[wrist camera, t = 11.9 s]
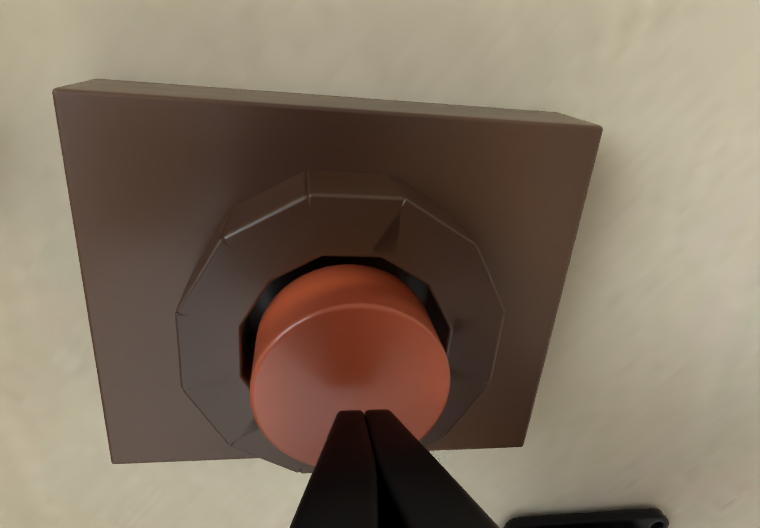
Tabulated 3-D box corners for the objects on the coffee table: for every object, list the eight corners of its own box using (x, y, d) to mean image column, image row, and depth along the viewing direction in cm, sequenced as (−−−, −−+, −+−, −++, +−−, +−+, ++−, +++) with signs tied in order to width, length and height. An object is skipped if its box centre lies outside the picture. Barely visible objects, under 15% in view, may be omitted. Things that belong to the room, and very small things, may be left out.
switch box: (558, 112, 13) (657, 142, 10) (497, 398, 17) (552, 499, 13) (92, 78, 11) (-3, 99, 8) (135, 408, 15) (83, 528, 11)
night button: (439, 264, 10) (465, 305, 9) (419, 408, 12) (438, 466, 10) (255, 260, 10) (247, 304, 8) (257, 413, 11) (250, 475, 10)
